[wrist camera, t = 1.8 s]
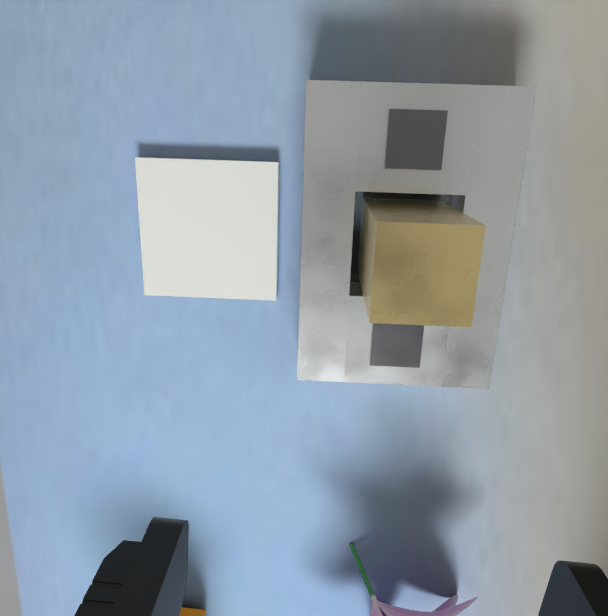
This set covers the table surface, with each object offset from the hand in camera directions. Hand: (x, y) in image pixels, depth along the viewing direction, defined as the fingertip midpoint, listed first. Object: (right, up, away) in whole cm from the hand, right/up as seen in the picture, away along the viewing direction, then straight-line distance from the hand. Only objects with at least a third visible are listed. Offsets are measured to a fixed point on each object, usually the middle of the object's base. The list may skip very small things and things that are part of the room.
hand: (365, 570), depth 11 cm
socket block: (+4, +10, +19) cm, 22 cm away
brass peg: (+4, +10, +19) cm, 22 cm away
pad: (-7, +10, +19) cm, 23 cm away
